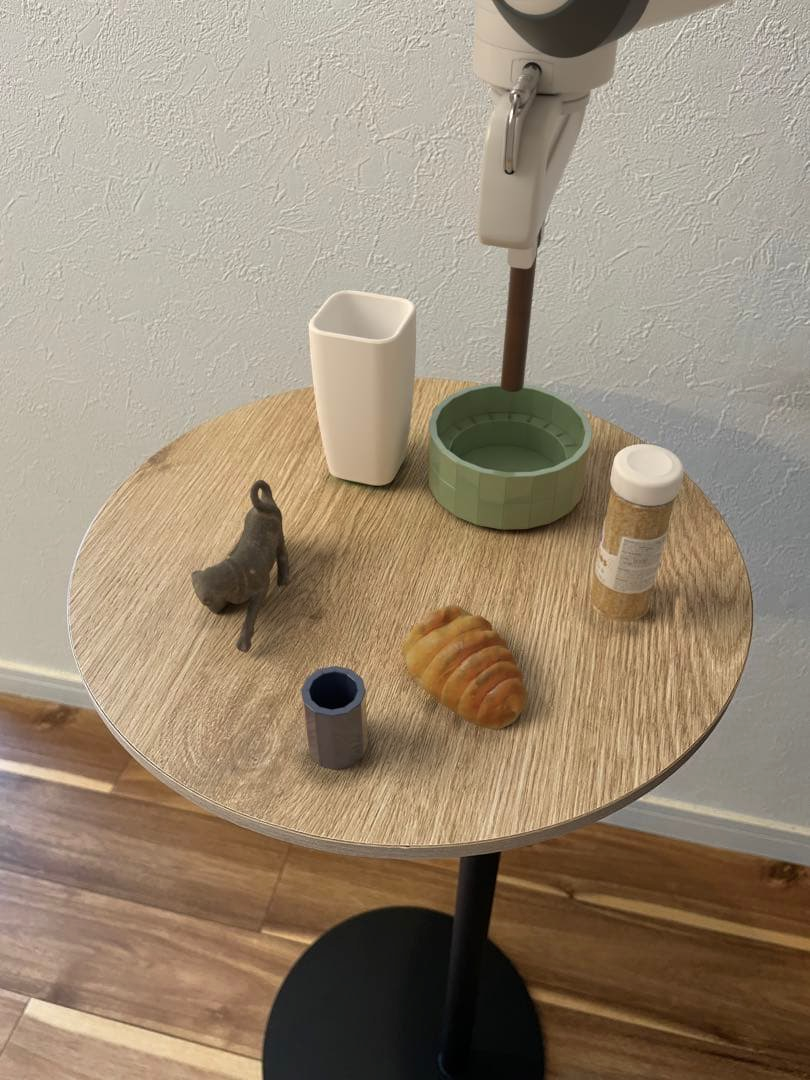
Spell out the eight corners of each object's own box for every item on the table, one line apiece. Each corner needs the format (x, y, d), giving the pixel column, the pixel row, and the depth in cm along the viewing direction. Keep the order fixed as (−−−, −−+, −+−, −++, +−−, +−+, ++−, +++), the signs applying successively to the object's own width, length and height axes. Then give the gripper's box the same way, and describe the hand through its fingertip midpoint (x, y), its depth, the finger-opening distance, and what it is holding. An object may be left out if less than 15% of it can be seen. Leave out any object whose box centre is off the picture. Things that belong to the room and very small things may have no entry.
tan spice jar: (586, 582, 74) (611, 439, 65) (646, 586, 74) (680, 443, 65) (589, 626, 71) (616, 481, 62) (652, 630, 70) (689, 485, 61)
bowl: (592, 452, 86) (601, 395, 82) (570, 548, 77) (579, 489, 73) (448, 429, 89) (450, 372, 85) (410, 518, 80) (410, 460, 76)
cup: (394, 501, 81) (392, 345, 71) (313, 484, 83) (301, 329, 73) (420, 451, 86) (421, 300, 77) (343, 436, 88) (335, 286, 78)
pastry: (551, 706, 65) (556, 669, 63) (471, 754, 62) (474, 717, 60) (466, 622, 71) (468, 585, 68) (390, 663, 68) (389, 625, 65)
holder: (374, 733, 63) (372, 673, 59) (356, 780, 61) (353, 721, 57) (319, 720, 64) (314, 660, 60) (299, 767, 61) (292, 707, 57)
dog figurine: (238, 542, 77) (227, 468, 72) (307, 553, 76) (300, 479, 71) (176, 651, 69) (159, 575, 64) (253, 666, 68) (241, 590, 63)
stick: (525, 381, 77) (542, 210, 68) (521, 394, 76) (538, 221, 66) (503, 378, 77) (517, 207, 68) (498, 390, 76) (512, 218, 67)
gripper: (571, 101, 52) (545, 331, 61) (614, 6, 66) (588, 203, 76) (456, 90, 53) (447, 317, 62) (524, 0, 68) (509, 194, 77)
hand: (525, 254), depth 69 cm, fingers closed on stick, 2 cm apart
